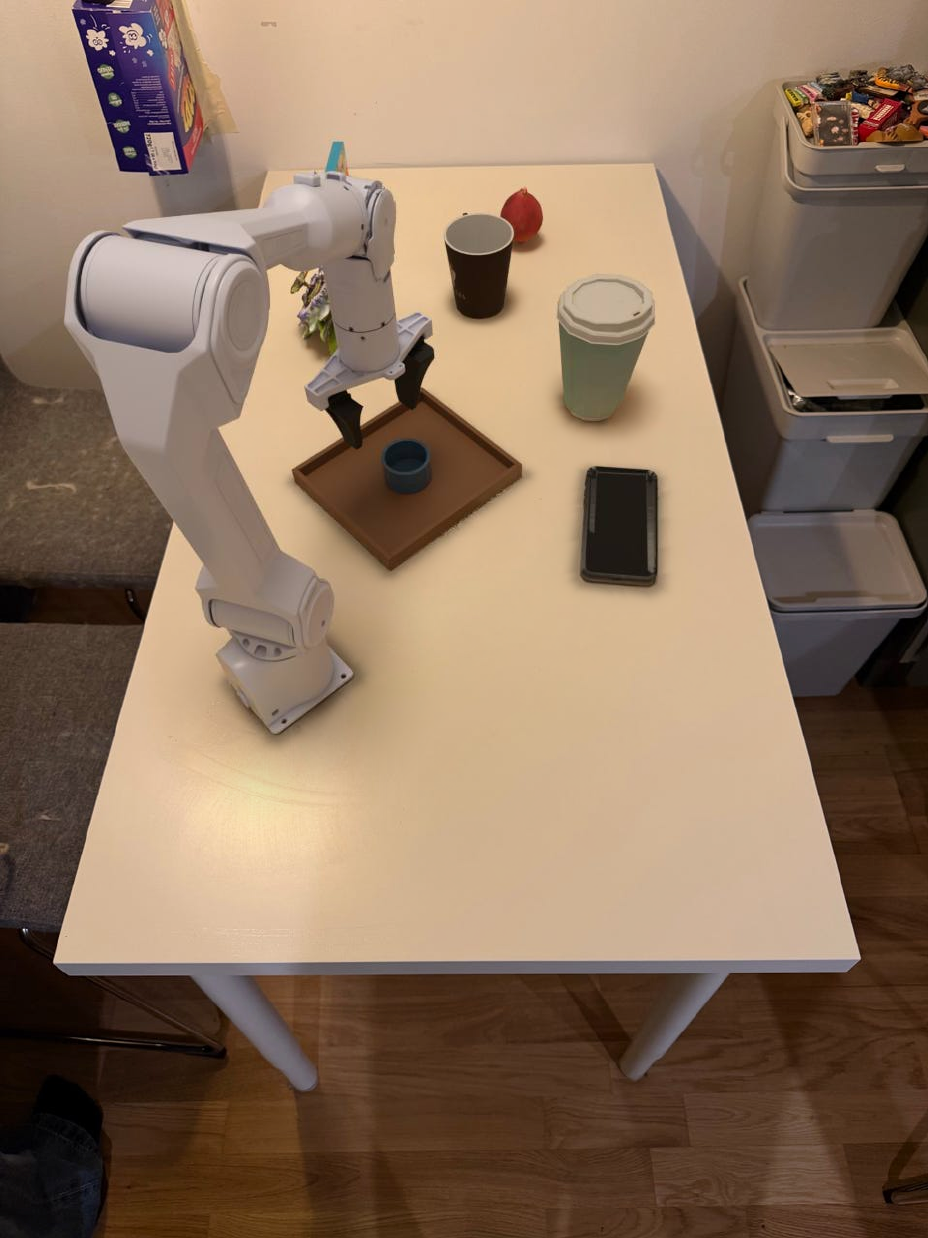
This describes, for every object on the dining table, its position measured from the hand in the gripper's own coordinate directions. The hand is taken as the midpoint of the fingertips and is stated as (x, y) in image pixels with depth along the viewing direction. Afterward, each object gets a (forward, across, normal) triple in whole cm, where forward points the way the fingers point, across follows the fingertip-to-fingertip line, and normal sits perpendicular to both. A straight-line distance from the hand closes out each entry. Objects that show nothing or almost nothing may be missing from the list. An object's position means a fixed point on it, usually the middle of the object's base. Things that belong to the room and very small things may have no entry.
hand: (380, 423), depth 87 cm
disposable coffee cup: (+10, +26, -8) cm, 28 cm away
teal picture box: (+10, +32, +46) cm, 57 cm away
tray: (+9, +2, -1) cm, 10 cm away
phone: (+9, +13, -23) cm, 28 cm away
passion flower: (+10, +13, +23) cm, 29 cm away
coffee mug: (+10, +31, +15) cm, 36 cm away
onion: (+10, +43, +20) cm, 48 cm away
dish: (+9, +2, -1) cm, 9 cm away
